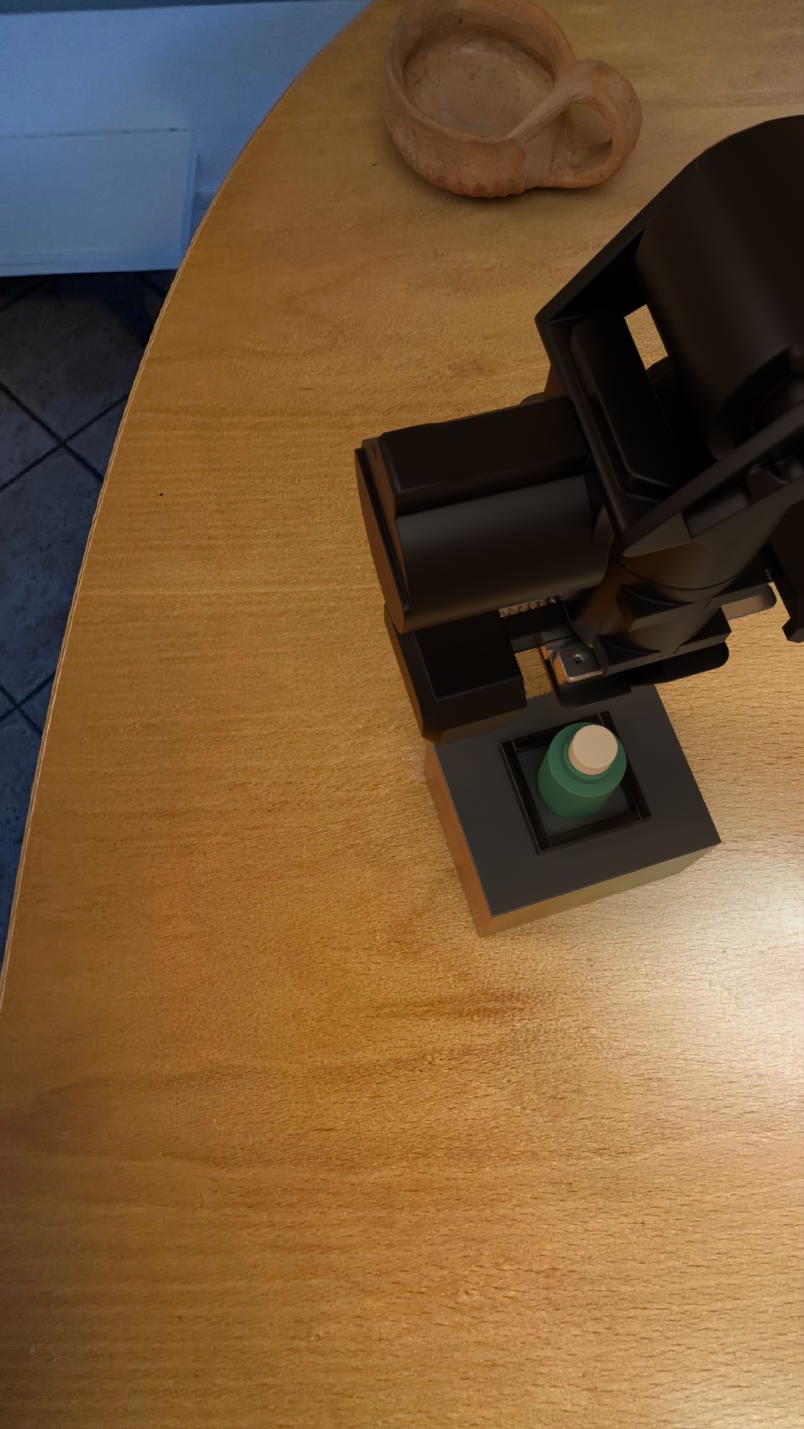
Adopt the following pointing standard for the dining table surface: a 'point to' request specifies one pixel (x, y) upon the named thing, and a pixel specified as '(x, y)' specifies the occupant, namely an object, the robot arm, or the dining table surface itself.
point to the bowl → (499, 99)
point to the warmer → (557, 851)
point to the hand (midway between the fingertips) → (591, 681)
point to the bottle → (580, 770)
